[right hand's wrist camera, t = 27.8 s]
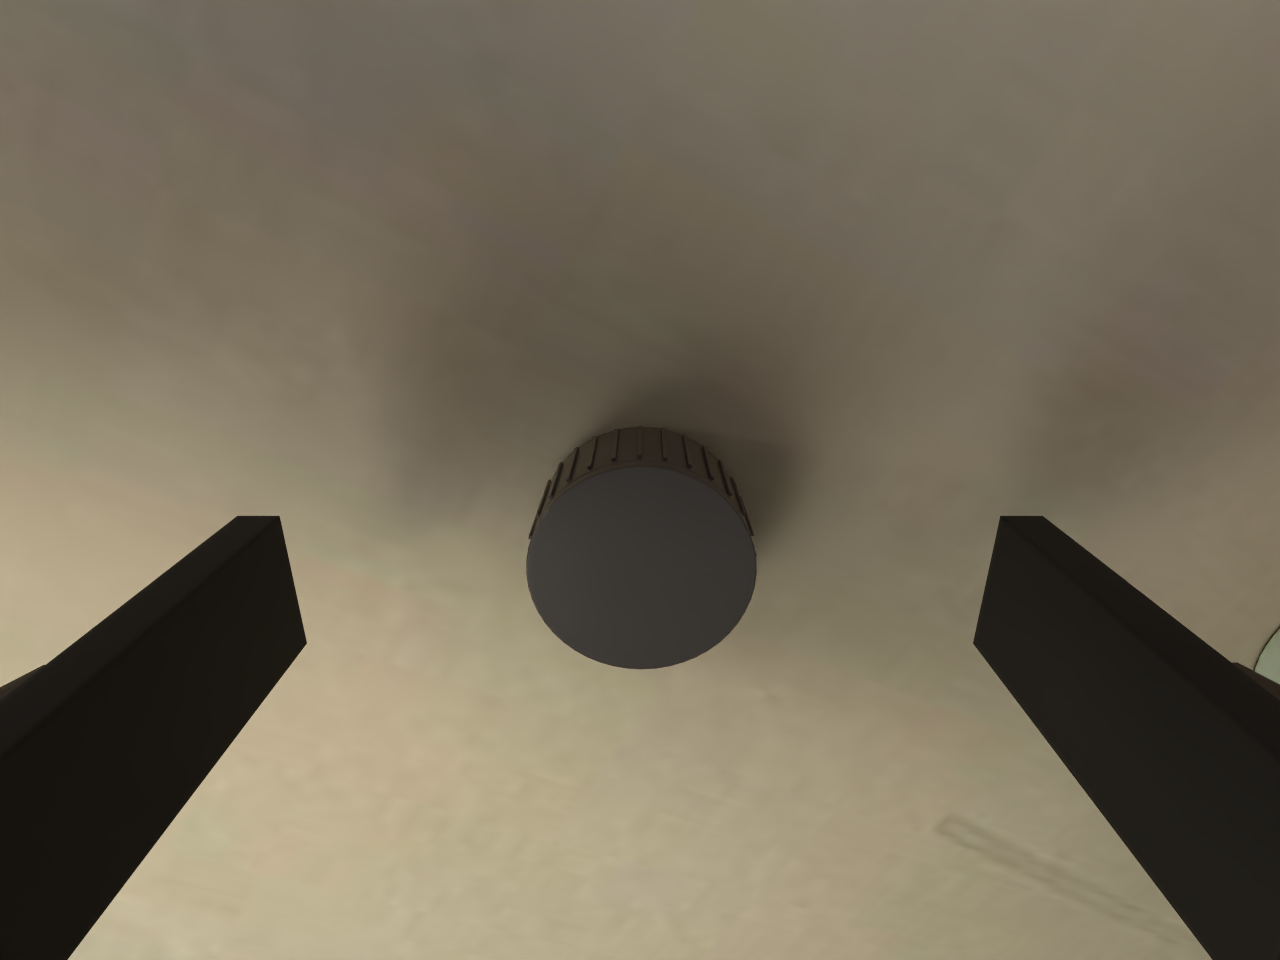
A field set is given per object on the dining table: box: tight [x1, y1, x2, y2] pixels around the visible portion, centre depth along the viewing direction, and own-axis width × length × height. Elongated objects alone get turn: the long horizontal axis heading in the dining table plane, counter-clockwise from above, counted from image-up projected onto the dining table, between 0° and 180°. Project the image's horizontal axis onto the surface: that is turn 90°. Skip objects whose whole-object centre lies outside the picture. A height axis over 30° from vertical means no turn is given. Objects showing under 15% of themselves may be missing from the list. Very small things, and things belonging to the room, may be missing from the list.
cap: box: [527, 426, 756, 669], centre depth 15 cm, size 5×5×2 cm
